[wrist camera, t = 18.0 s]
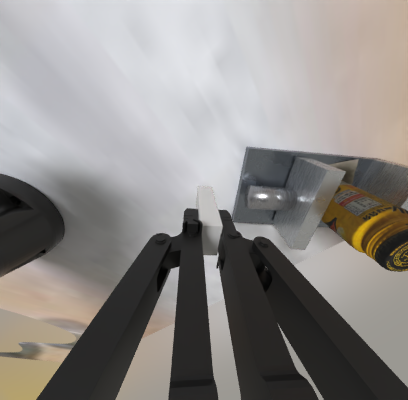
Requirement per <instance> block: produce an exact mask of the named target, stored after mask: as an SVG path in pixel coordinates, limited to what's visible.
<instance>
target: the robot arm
mask: <svg viewBox="0 0 408 400" xmlns="http://www.w3.org/2000/svg"><path fill="white" fill-rule="evenodd" d="M63 235H64V224H63V220H62V218H61V216H60V214H59V212H58V210H57V209H56V208H55V206H54V205H53V204H52V203H51V202H50V201H49V200H48V199H47V198H46V197H45V196H44V195H42V194H41V193H40V192H39V191H37V190H36V189H34V188H33V187H31V186H29V185H28V184H26V183H24V182H22V181H20V180H17V179H15V178H12V177H10V176H7V175H3V174H0V277H2V276H4V275H6V274H8V273H10V272H12V271H14V270H15V269H17V268H19V267H21V266H23V265H25V264H27V263H29V262H31V261H33V260H35V259H37V258H39V257H41V256H43V255H45V254H46V253H48V252H49V251H50V250H51V249H52V248H54V247H55V246H56V245H57V244H58V243H59V242H60V241H61V239H62V237H63ZM217 253H219V257H218V262H217V268H218V266H219V270H220V276H221V282H222V288H223V294H224V299H225V305H226V311H227V316H228V322H229V329H230V334H231V340H232V346H233V351H234V358H235V364H236V370H237V376H238V381H239V386H240V393H241V400H318V397H317V395H316V393H315V391H314V389H313V388H312V386H311V385H310V383H309V382H308V380H307V379H305V378H304V377H303V376H302V375H300V374H299V373H298V371H297V370H296V368H295V366H294V363H293V361H292V358H291V356H290V353H289V351H288V349H287V346H286V344H285V341H284V339H283V336H282V334H281V331H280V329H279V327H278V324H279V326H280V328H281V329H282V331H283V333H284V334H285V336H286V338H287V339H288V341H289V343H290V344H291V346H292V347H293V349H294V351H295V352H296V354H297V356H298V357H299V359H300V360H301V362H302V364H303V366H304V367H305V369H306V371H307V372H308V374H309V375H310V377H311V379H312V380H313V382H314V384H315V385H316V387H317V389H318V390H319V392H320V394H321V395H322V397H323V398H324V400H408V387H407V386H406V385H405V384H404V383H403V382H402V381H401V380H400V379H399V378H398V377H397V376H396V375H395V374H394V373H393V372H392V370H391V369H390V368H389V367H388V366H387V365H386V364H385V363H384V362H383V361H382V360H381V359H380V357H379V356H377V354H376V353H375V352H374V351H373V350H372V349H371V348H370V347H369V346H368V345H367V344H366V342H365V341H363V339H362V338H361V337H360V336H359V335H358V334H357V333H356V332H355V331H354V330H353V329H352V328H351V326H350V325H349V324H348V323H347V322H346V321H345V320H344V319H343V318H342V317H341V316H340V315H339V314H338V312H337V311H336V310H335V309H334V308H333V307H332V306H331V305H330V304H329V303H328V302H327V301H326V300H325V299H324V298H323V297H322V295H321V294H319V292H318V291H317V290H316V289H315V288H314V287H313V286H312V285H311V284H310V283H309V281H308V280H307V279H306V278H305V277H304V276H303V275H302V274H301V273H300V272H299V271H298V270H297V269H296V268H295V266H294V265H293V264H292V263H291V262H290V261H289V260H288V259H287V258H286V257H285V256H284V255H283V254H282V253H281V251H280V250H279V249H278V248H277V247H276V246H275V245H274V244H273V243H272V242H271V241H270V240H269V239H267V238H264V237H255V239H254V240H253V241H252V240H248V239H245V238H243V237H242V235H241V234H240V233H239V232H238V231H236V229H235V226H234V223H233V221H232V218H231V215H230V213H229V212H228V211H227V210H218V207H217V203H216V200H215V196H214V192H213V189H212V187H204V186H198V188H197V199H196V209H188V208H187V209H186V210H185V211H184V221H183V229H182V233H181V234H179V235H178V236H175V237H170V236H169V235H168V234H165V233H159V234H156V235H154V236H152V237H151V238H150V240H149V241H148V243H147V244H146V245H145V247H144V248H143V250H142V251H141V253H140V254H139V255H138V257H137V258H136V260H135V261H134V262H133V264H132V265H131V267H130V268H129V269H128V271H127V272H126V274H125V275H124V277H123V278H122V279H121V281H120V282H119V284H118V285H117V286H116V288H115V289H114V291H113V292H112V293H111V295H110V296H109V298H108V299H107V301H106V302H105V303H104V305H103V306H102V308H101V309H100V310H99V312H98V313H97V315H96V316H95V317H94V319H93V320H92V322H91V323H90V325H89V326H88V327H87V329H86V330H85V332H84V333H83V334H82V336H81V337H80V339H79V340H78V341H77V343H76V344H75V346H74V347H73V348H72V350H71V351H70V353H69V354H68V356H67V357H66V358H65V360H64V361H63V363H62V364H61V365H60V367H59V368H58V370H57V371H56V373H55V374H54V375H53V377H52V378H51V380H50V381H49V383H48V384H47V385H46V387H45V388H44V390H43V391H42V392H41V394H40V395H39V396H38V398H37V399H36V400H115V399H116V397H117V395H118V392H119V390H120V388H121V385H122V383H123V381H124V378H125V376H126V373H127V371H128V369H129V366H130V364H131V361H132V359H133V357H134V355H135V352H136V350H137V348H138V345H139V343H140V341H141V338H142V336H143V334H144V331H145V329H146V327H147V324H148V322H149V320H150V317H151V315H152V313H153V310H154V308H155V305H156V303H157V301H158V298H159V296H160V294H161V291H162V289H163V287H164V284H165V282H166V280H167V277H168V275H169V273H170V270H171V269H172V268H175V267H179V266H180V267H179V280H178V292H177V305H176V317H175V330H174V342H173V354H172V367H171V378H170V388H169V400H218V393H217V387H216V384H215V380H214V376H213V368H212V357H211V343H210V332H209V319H208V306H207V294H206V282H205V270H204V257H203V255H217ZM266 267H267V268H266ZM277 323H278V324H277Z"/></svg>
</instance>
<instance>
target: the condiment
mask: <svg viewBox="0 0 408 400" xmlns="http://www.w3.org/2000/svg"><path fill="white" fill-rule="evenodd" d="M358 160H359V159H356V160H349V161H344V162H339V163H334V164H329V165H330V166H333V167H335V168H338V169H341V170H343V171H346V173H345V175H344V177H343V178H342V180H341V182H340V184H339V186H338V188H337V190H336V192H335V194H334V196H333V197H332V199H331V201H330V203H329V205H328V207H327V209H326V211H325V213H324V215H323V217H322V218H321V220H322V221H323V222H324V223H325V224H326V225H327V226H329V228H331V229H332V230H333V231H334V232H336V233H337V234H338V235H339V236H340V237H342V238H343V239H344V240H345V241H346V242H347V243H348V244H349V245H351V246H352V247H353V248H355V249H356V250H358V251H359V252H362V253H366V254H367V256H369V257H371V258H372V259H374V260H375V261H376V262H377V263H379V265H381V266H382V267H384V268H385V269H387V270H390V271H398V272H401V271H407V270H408V211H407V210H406V209H403V208H401V207H399V206H397V205H395V204H392V203H390V202H388V201H386V200H384V199H381V198H379V197H377V196H375V195H372V194H370V193H368V192H366V191H364V190H362V189H359V188H357V187H355V186H353V185H352V183H353V178H354V174H355V170H356V168H357V164H358Z"/></svg>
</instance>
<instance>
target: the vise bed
mask: <svg viewBox="0 0 408 400" xmlns="http://www.w3.org/2000/svg"><path fill="white" fill-rule="evenodd" d="M296 157H305V158H311V159H314V160H317V161H319V162H322V163H325V164H327V165H329V164H334V163H339V162H344V161H349V160H356V159H359V160H358V164H357V168H356V170H355V174H354V178H353V183H352V185H353V186H355V187H357V188H359V189H362V190H364V191H366V192H368V193H370V194H372V195H375V196H377V197H379V198H381V199H384V200H386V201H388V202H390V203H392V204H395V205H397V206H399V207H401V208H403V209H406V210H407V211H408V166H407V165H402V164H398V163H394V162H390V161H386V160H381V159H377V158H366V157H355V156H344V155H333V154H321V153H310V152H299V151H288V150H277V149H266V148H255V147H246V152H245V157H244V162H243V167H242V171H241V176H240V181H239V186H238V191H237V196H236V200H235V205H234V210H233V215H232V220H233V222H243V223H262V224H273V220H274V217H275V214H276V211H277V210H265V209H248V208H246V206H245V191H246V188H247V187H248V186H249V185H254V186H268V187H281V188H285V186H286V183H287V181H288V178H289V175H290V172H291V169H292V167H293V164H294V161H295V158H296ZM317 227H329V226H327V225H326V224H325V223H324V222H323V221H322V220H320V222H319V224H318V226H317Z"/></svg>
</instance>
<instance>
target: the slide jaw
mask: <svg viewBox="0 0 408 400" xmlns="http://www.w3.org/2000/svg"><path fill="white" fill-rule="evenodd" d="M345 173H346V171H343V170H341V169H338V168H335V167H333V166H330V165H327V164H325V163H322V162H319V161H317V160H314V159H311V158H305V157H296V158H295V161H294V164H293V167H292V169H291V172H290V175H289V178H288V181H287V183H286V186H285V188H281V187H268V186H254V185H249V186H248V187H247V188H246V191H245V206H246V208H248V209H265V210H277V211H276V214H275V217H274V220H273V224H274V226H275V227H276V228H277V230H278V231H279V233H280V234H281V236H282V237H283V238H284V240H285V241H286V243H287V244H288V246H289V247H290V248H291V249H299V250H305V249H306V247H307V245H308V243H309V241H310V239H311V237H312V236H313V234H314V232H315V230H316V228H317V226H318V224H319V222H320V220H321V218H322V217H323V215H324V213H325V211H326V209H327V207H328V205H329V203H330V201H331V199H332V197H333V196H334V194H335V192H336V190H337V188H338V186H339V184H340V182H341V180H342V178H343V177H344V175H345Z"/></svg>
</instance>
